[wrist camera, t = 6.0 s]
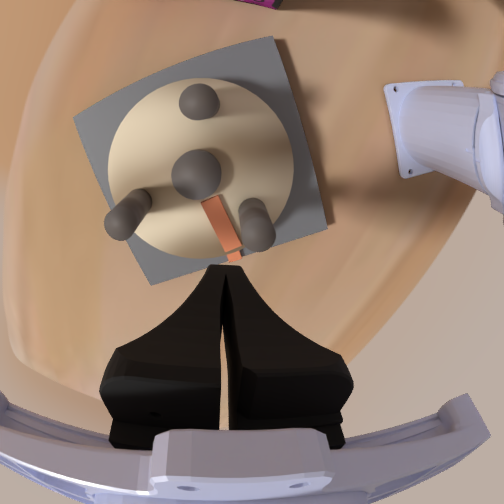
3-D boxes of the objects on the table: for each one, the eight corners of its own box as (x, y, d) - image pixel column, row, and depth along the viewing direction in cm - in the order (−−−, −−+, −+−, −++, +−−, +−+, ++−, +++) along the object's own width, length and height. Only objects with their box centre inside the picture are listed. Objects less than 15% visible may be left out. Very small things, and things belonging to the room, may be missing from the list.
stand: (270, 39, 15) (273, 34, 14) (323, 224, 22) (328, 230, 21) (78, 116, 16) (70, 117, 15) (153, 279, 23) (150, 287, 22)
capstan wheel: (310, 211, 20) (337, 245, 15) (165, 270, 22) (151, 316, 17) (248, 54, 15) (257, 31, 10) (90, 134, 16) (47, 145, 11)
